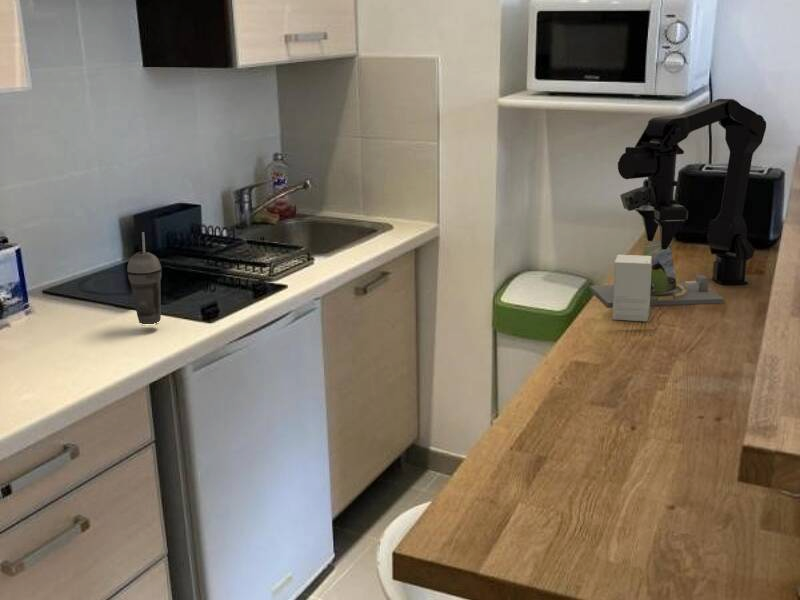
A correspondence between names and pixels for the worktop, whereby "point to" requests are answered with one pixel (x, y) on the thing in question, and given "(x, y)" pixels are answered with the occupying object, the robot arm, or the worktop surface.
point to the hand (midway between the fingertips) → (656, 245)
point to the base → (691, 298)
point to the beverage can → (661, 268)
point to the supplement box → (632, 287)
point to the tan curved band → (686, 288)
